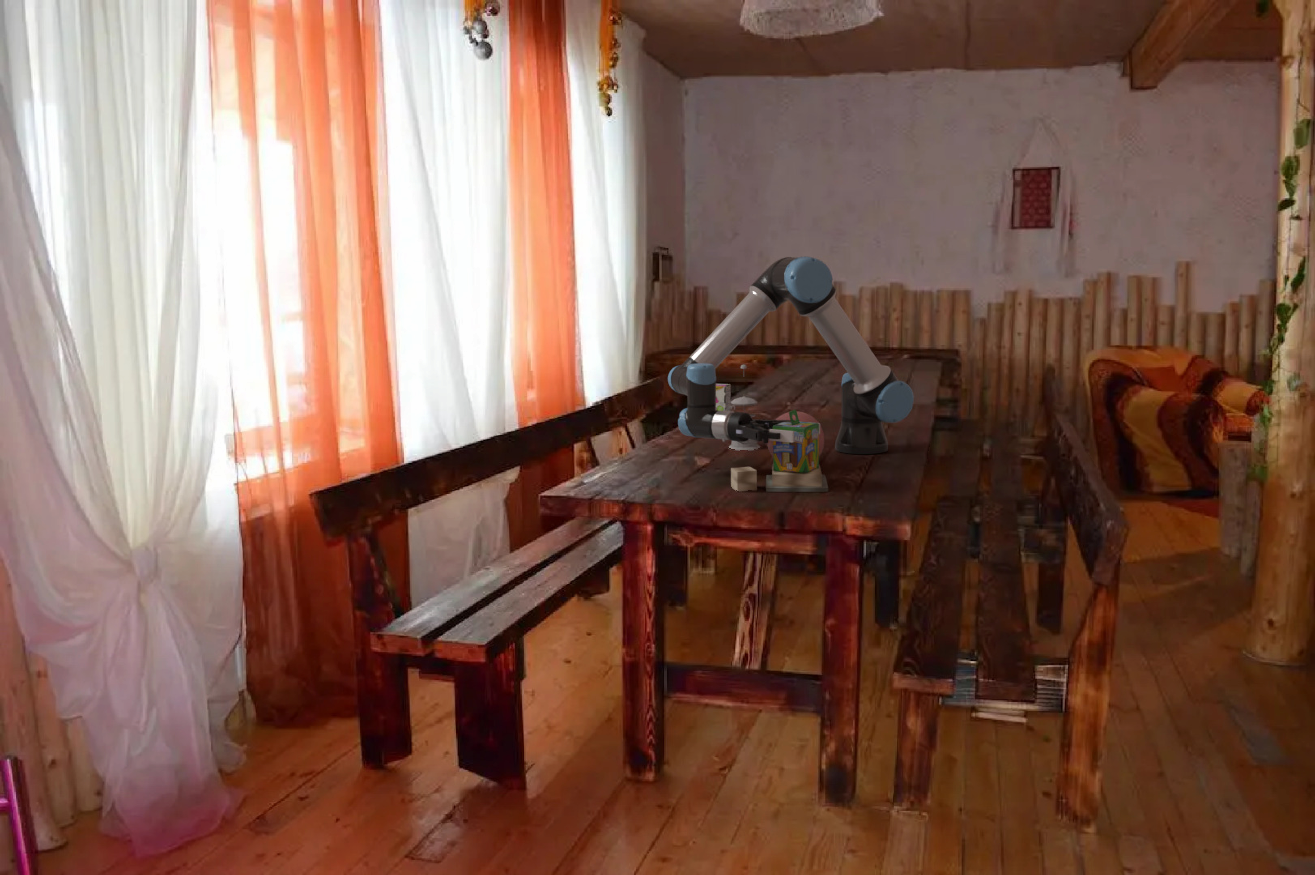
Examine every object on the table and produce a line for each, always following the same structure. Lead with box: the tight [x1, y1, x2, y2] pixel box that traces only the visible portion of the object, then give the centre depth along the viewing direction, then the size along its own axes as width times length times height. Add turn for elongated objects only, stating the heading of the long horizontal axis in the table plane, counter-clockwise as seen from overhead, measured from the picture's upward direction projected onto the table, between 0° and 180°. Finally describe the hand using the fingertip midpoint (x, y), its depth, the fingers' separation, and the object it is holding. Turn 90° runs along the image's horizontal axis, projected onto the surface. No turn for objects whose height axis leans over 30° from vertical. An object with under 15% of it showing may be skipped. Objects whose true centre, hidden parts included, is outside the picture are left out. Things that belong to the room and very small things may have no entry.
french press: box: [725, 364, 761, 451], centre depth 320 cm, size 10×12×25 cm
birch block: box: [730, 466, 758, 492], centre depth 266 cm, size 5×5×5 cm
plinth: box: [765, 464, 829, 493], centre depth 268 cm, size 15×15×4 cm
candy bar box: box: [716, 383, 732, 411], centre depth 344 cm, size 11×5×16 cm, turn 65°
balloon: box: [761, 410, 825, 458], centre depth 289 cm, size 15×20×15 cm
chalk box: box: [772, 409, 820, 473], centre depth 267 cm, size 9×9×15 cm
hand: (806, 432), depth 265 cm, fingers open, 13 cm apart
